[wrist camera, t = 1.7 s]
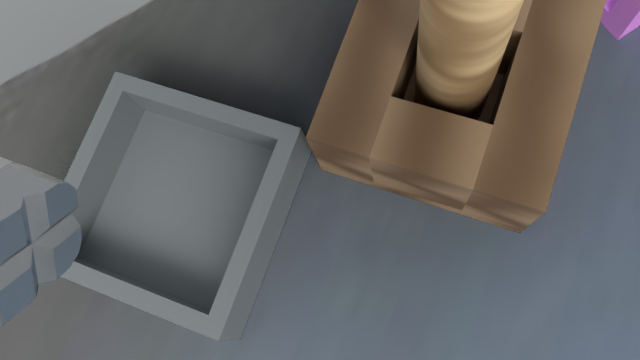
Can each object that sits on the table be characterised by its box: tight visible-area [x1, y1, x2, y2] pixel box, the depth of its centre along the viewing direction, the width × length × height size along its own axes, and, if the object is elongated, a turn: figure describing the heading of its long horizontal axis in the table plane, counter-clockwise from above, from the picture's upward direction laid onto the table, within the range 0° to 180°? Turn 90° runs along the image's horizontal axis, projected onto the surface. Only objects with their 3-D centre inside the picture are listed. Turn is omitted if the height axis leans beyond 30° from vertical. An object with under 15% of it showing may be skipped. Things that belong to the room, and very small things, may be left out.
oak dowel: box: [414, 0, 524, 121], centre depth 25 cm, size 4×4×16 cm
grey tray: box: [60, 71, 312, 341], centre depth 33 cm, size 12×12×4 cm
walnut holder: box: [306, 0, 606, 233], centre depth 31 cm, size 12×12×6 cm
